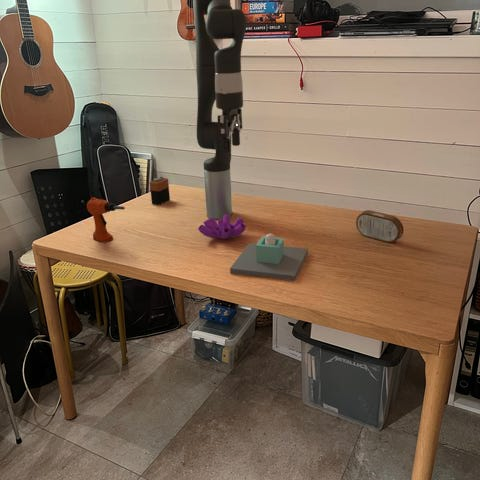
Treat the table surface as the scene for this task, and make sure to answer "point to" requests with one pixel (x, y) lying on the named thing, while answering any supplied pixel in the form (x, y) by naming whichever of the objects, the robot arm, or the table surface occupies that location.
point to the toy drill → (101, 217)
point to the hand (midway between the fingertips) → (231, 148)
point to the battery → (159, 190)
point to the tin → (379, 226)
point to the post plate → (283, 270)
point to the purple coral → (222, 227)
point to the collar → (270, 251)
